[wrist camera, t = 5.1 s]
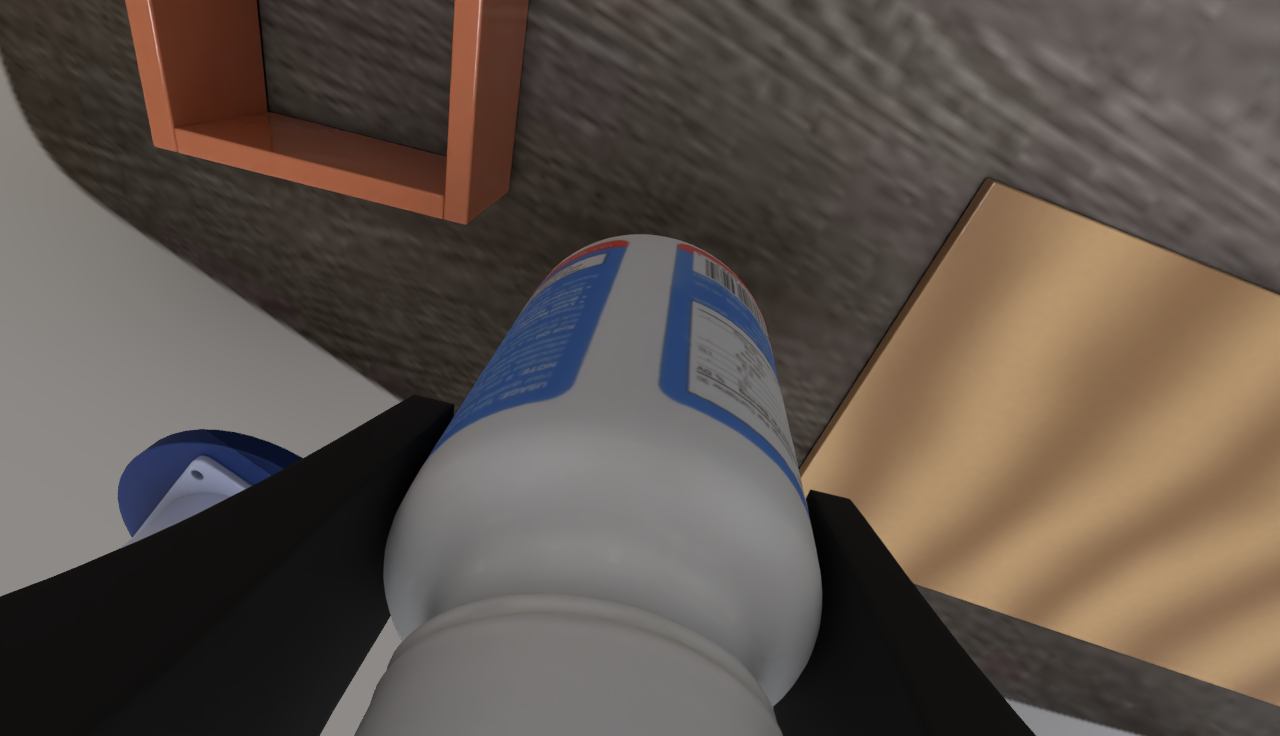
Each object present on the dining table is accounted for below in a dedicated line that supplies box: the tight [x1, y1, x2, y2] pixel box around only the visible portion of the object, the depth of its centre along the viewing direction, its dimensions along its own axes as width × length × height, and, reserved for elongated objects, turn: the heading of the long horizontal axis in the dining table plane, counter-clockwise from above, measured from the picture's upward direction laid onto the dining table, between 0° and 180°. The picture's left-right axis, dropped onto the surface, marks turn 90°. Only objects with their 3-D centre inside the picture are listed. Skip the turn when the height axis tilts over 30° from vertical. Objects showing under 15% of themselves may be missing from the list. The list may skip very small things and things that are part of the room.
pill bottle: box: [354, 234, 822, 736], centre depth 9 cm, size 6×5×10 cm
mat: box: [799, 178, 1280, 706], centre depth 20 cm, size 24×14×1 cm, turn 71°
